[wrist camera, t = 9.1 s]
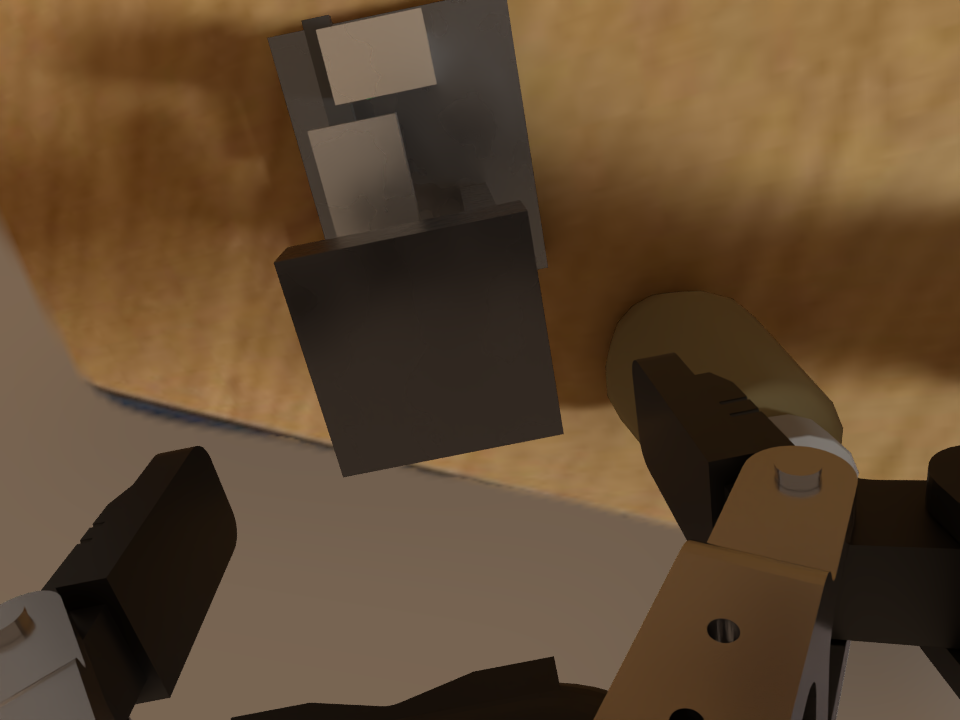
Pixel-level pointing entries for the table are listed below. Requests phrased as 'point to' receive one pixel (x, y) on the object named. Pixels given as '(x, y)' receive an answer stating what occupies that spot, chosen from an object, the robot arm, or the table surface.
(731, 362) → the squeeze bottle
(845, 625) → the robot arm
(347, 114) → the peak pointer
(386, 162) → the dark grey blocky piece
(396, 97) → the frame
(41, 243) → the table surface
